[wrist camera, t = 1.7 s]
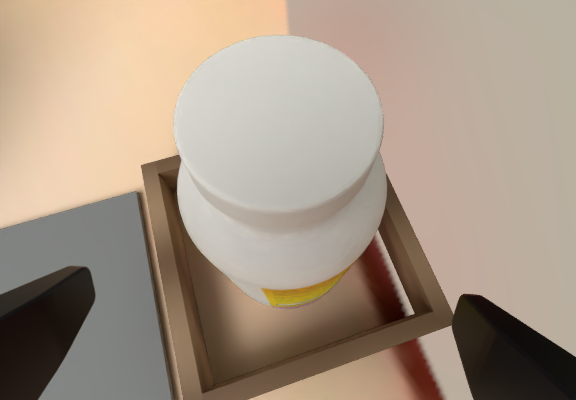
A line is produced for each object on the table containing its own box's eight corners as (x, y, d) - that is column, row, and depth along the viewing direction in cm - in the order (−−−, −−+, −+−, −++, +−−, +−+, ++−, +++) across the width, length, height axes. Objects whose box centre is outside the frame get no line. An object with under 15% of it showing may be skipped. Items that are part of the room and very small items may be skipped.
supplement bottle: (363, 228, 20) (478, 69, 8) (308, 334, 18) (352, 337, 6) (266, 177, 21) (236, -29, 9) (204, 269, 19) (58, 161, 7)
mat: (176, 410, 16) (173, 412, 16) (-90, 506, 15) (-100, 510, 15) (138, 193, 21) (135, 191, 20) (-72, 253, 19) (-79, 251, 19)
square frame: (435, 324, 18) (457, 323, 15) (201, 408, 16) (187, 421, 14) (347, 130, 22) (354, 106, 20) (157, 183, 21) (140, 165, 18)
